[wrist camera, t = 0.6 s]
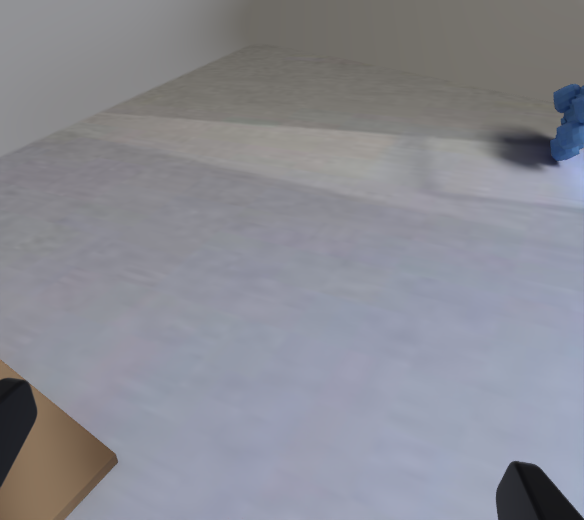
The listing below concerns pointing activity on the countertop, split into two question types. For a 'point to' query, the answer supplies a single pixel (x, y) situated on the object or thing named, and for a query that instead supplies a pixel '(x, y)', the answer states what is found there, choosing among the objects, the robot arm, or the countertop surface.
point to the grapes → (569, 122)
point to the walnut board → (52, 464)
